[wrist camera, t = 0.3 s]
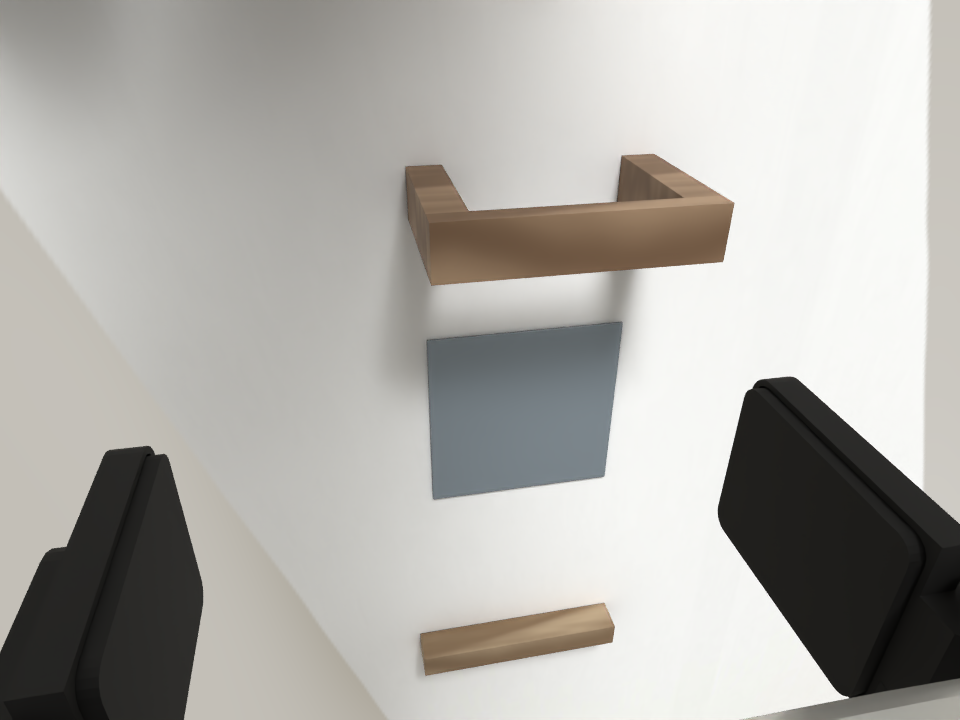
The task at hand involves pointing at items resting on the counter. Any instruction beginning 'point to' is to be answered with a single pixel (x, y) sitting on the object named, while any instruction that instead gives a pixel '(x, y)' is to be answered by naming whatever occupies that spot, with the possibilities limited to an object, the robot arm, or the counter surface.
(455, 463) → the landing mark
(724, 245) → the bridge
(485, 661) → the strip
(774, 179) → the counter surface
